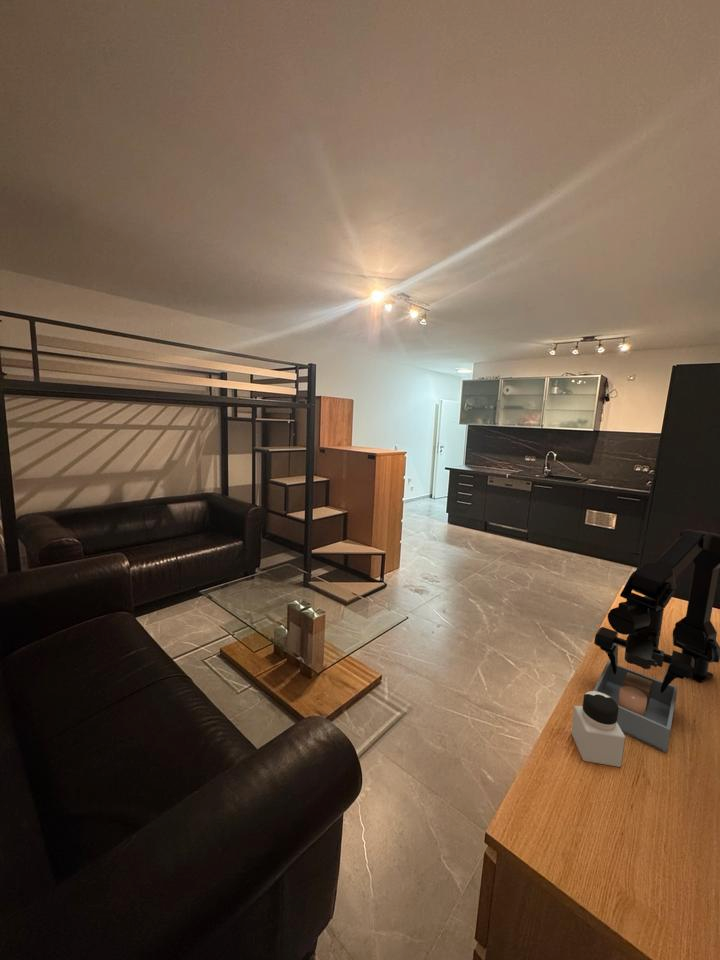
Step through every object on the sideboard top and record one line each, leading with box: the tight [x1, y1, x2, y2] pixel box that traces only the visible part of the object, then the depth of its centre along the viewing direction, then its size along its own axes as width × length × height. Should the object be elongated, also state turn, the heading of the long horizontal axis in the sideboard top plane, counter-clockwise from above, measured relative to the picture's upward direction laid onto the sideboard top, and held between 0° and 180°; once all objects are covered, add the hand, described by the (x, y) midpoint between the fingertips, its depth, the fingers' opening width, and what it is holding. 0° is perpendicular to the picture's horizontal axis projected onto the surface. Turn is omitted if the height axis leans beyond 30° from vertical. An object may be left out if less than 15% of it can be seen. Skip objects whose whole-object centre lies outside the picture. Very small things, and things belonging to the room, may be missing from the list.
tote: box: [592, 660, 678, 754], centre depth 89 cm, size 17×14×6 cm
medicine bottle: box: [570, 690, 626, 768], centre depth 78 cm, size 7×7×12 cm
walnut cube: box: [623, 672, 652, 711], centre depth 92 cm, size 5×5×5 cm
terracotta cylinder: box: [618, 686, 647, 717], centre depth 85 cm, size 5×5×7 cm
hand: (637, 682), depth 91 cm, fingers open, 9 cm apart
